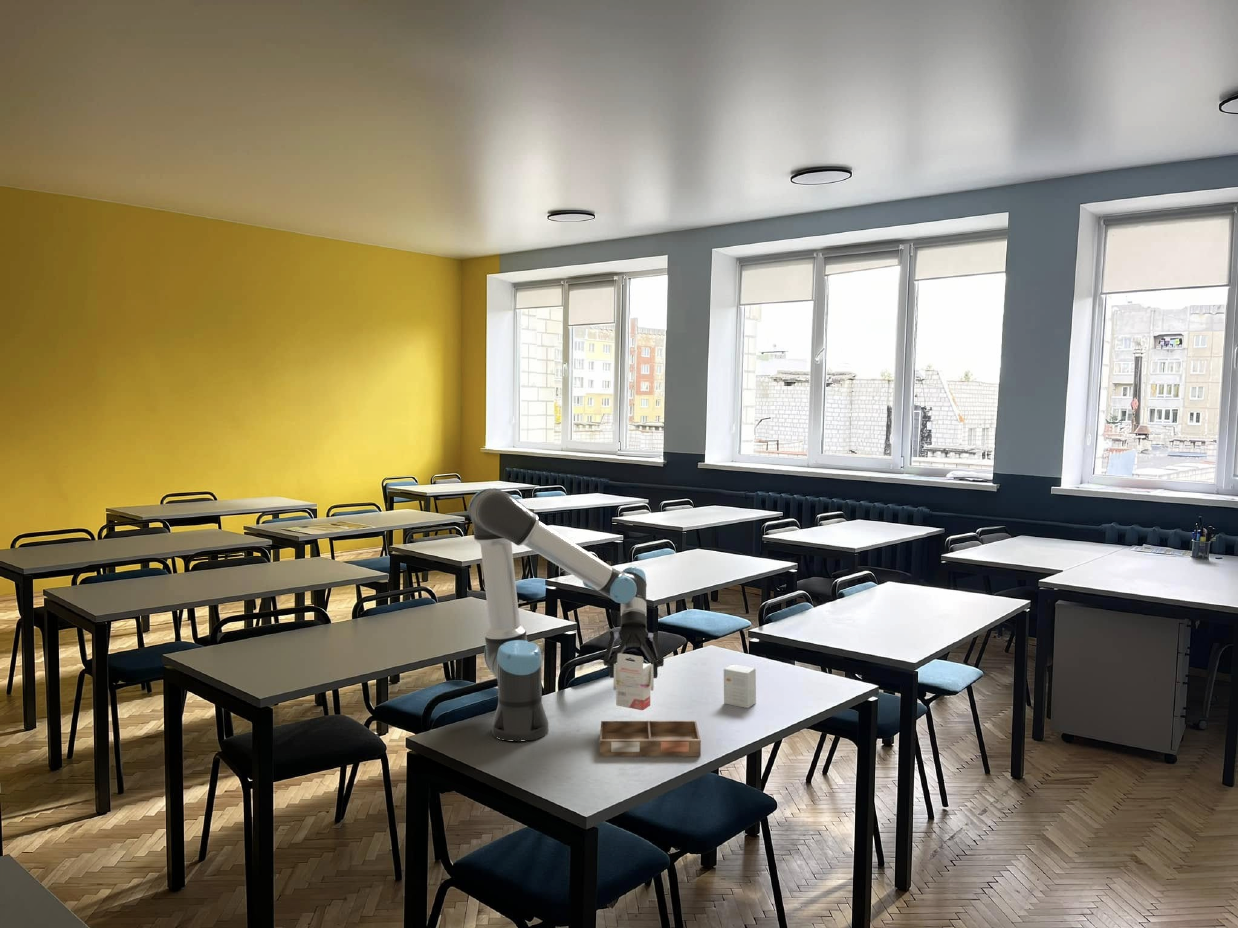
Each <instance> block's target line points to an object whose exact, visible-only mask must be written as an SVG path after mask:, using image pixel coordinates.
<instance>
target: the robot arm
mask: <svg viewBox="0 0 1238 928" xmlns="http://www.w3.org/2000/svg"><path fill="white" fill-rule="evenodd" d="M468 516H469V519H470V520H471V522H472V530H473V531H472V532H473V538H474V541H476V543H478V544H479V545H480V553H481V560H482V570H483V580H484V591H485V596H486V607H487V618H488V626H489V627H488V629H487V630H486V631H485V633H484V640H485V641H484V642H485V647H484V651H483V652H484V653H483V658H484V661H485V662H484V663H485V665H486V667H487V669H488V670H489V671H490V672H491V674H493V676H494V677H495V678H496V680H497V707H496V710H495V714H494V717H493V720H492V724H491V734H493V735H494V736H495V737H498V738H500V739H504V740H513V741H521V740H532V741H534V740H533V739H536V740H539V739H541V738H543V737H545V736H546V735H548V733H549V720H548V717H547V714H546V711H545V708H544V705H543V700H542V699H543V697H542V696H543V695H542V693H543V692H542V689H543V688H542V687H543V686H542V683H543V682H542V681H543V680H542V662H543V657H542V652H541V651H542V650H541V648H540V647H539V646H538V645H537V644H536V643H534V642H531V641H529V640H528V636H527V628H526V627H525V626H523V625H522V624H521V621H520V613H519V612H520V611H519V603H518V594H517V583H516V575H515V574H516V573H515V564H514V556H513V555H514V554H513V546H512V545H513V544H514V545H516V546H517V547H518V546H519V547H520V546H525V547H527V548H528V549H530V550H531V551H533V552H535V553H537V555H540V556H541V557H543V558H545V559H546V560H547V561H550V562H551V563H552V564H555V566H558V567H559V568H561V569H562V570H564V571H565V572H567V573H569V574H571V575H572V576H574V577H576V578H577V579H579V580H580V581H582V585H583V586H584V587H585V588H587V589H590V590H592V591H596V592H599V593H601V594H602V595H604V596H606V597H608V598H609V599H611V600H612V601H614V602H615V603H619V604H620V629H619V631H617V632H616V631H615V632H614V631H613V630H610V631H609V641H608V644H607V646H606V650H605V652H604V657H603V661H602V662H603V664H602V665H603V666H607V667H609V678H610V679H611V678H612V679H613V684H612V685H613V691H616V676H617V655H618V653H621V654H624V651H625V650H626V649H627V648H632V647H634V648H639V647H640V650H641V651H643V653H644V655H645V656H646V658H647V660H648V662H649V664H650V667H651V668H650V670H651V678H650V683H651V684H650V685H651V687H650V692H652V691H654V689H655V688H654V687H655V686H654V680H655V679H657V678H658V674H659V673H658V672H659V670H658V668H660V667H661V668H662V667H664V664H665V663H664V662H665V659H664V656H663V653H662V649H661V647H660V643H659V639H658V634H659V633H658V632H657V631H653V632H649V631H648V629H647V628H648V627H647V626H648V625H647V621H648V619H647V586H648V585H647V576H646V572H645V571H644V570H643V569H641V568H640V567H637V566H636V567H635V566H634V567H632V566H631V567H630V566H629V567H626V568H624V569H623V570H622V571H620V570H617V569H616V568H614V567H612V566H611V565H610V564H607V563H606V562H604V561H603V560H601V559H600V558H599V557H597V556H595V555H594V554H592V553H591V552H589V551H588V550H586V549H584V548H583V547H581V546H580V545H578V544H576V543H574V542H573V541H571V540H570V539H568V538H567V537H565V536H564V535H562V534H560V533H559V532H558V531H557V530H555V529H553V528H551V527H550V526H548V525H546V524H545V523H543V522H541V520H539V516H538V514H536V513H534V512H533V511H531V509H529V508H528V507H526V506H525V505H524V504H522V503H521V502H520V501H519V500H518V499H517V498H515V497H514V496H513V495H512V494H510V493H508V492H505V491H503V490H502V489H498V488H495V487H493V488H484V489H482V490H480V491H478V492H476V493H475V494H474V495H473V497H471V499H470V501H469V504H468ZM512 543H513V544H512ZM618 638H619V640H621V642H620V644H619V645H618V648H617V649H616V651H615V653H614V654H613V655H612V658H611V654H612V651H613V648H614V645H615V642H616V641H617V640H618ZM648 638H649V640H650V642H652V646H653V649H654V652H655V655H654V653H653V652H652V650H651V649H650V648H649V646H648V644H647V642H646V641H647V639H648ZM655 656H656V657H655ZM493 735H492V736H493ZM494 736H493V737H494ZM495 737H494V738H495ZM540 737H541V738H540ZM538 738H539V739H538Z"/></svg>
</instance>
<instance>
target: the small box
mask: <svg viewBox="0 0 1238 928" xmlns="http://www.w3.org/2000/svg"><path fill="white" fill-rule="evenodd" d="M756 670H757V669H756V668H755V667H751V666H750V667H749V666H744V665H739V664H738V665H737V664H731V665H729V666H726V667H725V668H723V704H725V705H730V706H736V707H740V708H745V709H749V708H751V707H752V706H753V705H754V704H756V703H757V683H756V682H757V675H756V674H757V671H756Z"/></svg>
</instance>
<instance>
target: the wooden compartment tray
mask: <svg viewBox="0 0 1238 928" xmlns="http://www.w3.org/2000/svg"><path fill="white" fill-rule="evenodd" d="M701 744H702V741H701V736H700V732H699V728H698V723H697V720H601V721H600V731H599V757H701V752H702V750H701V747H702V746H701Z"/></svg>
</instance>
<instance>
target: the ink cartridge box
mask: <svg viewBox="0 0 1238 928" xmlns="http://www.w3.org/2000/svg"><path fill="white" fill-rule="evenodd" d="M629 659H631V660H629ZM633 660H634V661H633ZM616 664H617V676H616V690H615V692H616V695H615V699H616V700H615V702H616V703H615V704H616V706H617V707H623V708H629V709H634V710H638V711H644V710H646V709H647V708H648V707H650V706H651V683H650V678H651V670H650V668H651V667H650V666H651V663H645V662H644V657H643V656H640V655H634V654H627V653H622V654H621V653H618V655H617V663H616Z"/></svg>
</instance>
